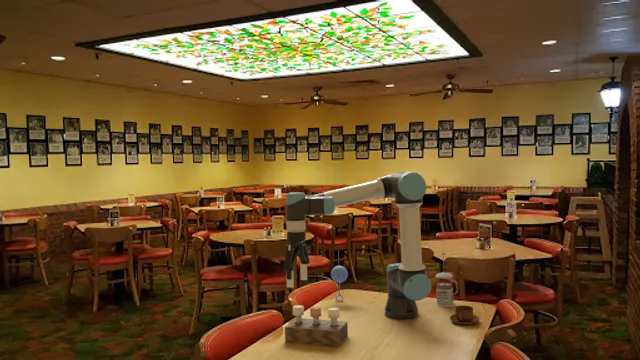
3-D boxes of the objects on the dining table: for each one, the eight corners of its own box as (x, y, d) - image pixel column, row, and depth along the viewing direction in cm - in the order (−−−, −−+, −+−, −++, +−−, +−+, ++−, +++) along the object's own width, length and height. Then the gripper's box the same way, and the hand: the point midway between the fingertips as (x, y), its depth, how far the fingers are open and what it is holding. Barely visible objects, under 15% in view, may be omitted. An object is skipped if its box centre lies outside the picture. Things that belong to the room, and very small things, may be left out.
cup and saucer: (481, 327, 201) (480, 312, 201) (450, 326, 203) (450, 311, 203) (477, 318, 213) (477, 304, 212) (449, 317, 215) (448, 303, 215)
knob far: (306, 322, 198) (305, 305, 198) (301, 326, 194) (301, 308, 193) (295, 322, 199) (295, 305, 199) (291, 325, 195) (290, 308, 195)
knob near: (341, 325, 192) (340, 307, 192) (337, 329, 188) (337, 311, 188) (330, 324, 194) (330, 307, 194) (327, 328, 190) (326, 310, 190)
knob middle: (323, 324, 195) (322, 306, 195) (319, 327, 191) (318, 309, 191) (313, 323, 197) (312, 306, 196) (309, 326, 192) (308, 309, 192)
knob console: (347, 336, 196) (347, 321, 196) (338, 347, 184) (337, 331, 184) (297, 332, 203) (296, 317, 203) (285, 342, 192) (284, 327, 192)
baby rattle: (349, 298, 252) (347, 263, 252) (348, 303, 243) (347, 267, 243) (332, 298, 253) (331, 264, 253) (331, 303, 244) (329, 267, 244)
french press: (440, 300, 242) (438, 250, 242) (462, 303, 235) (460, 251, 234) (430, 305, 235) (429, 253, 234) (453, 308, 227) (452, 255, 227)
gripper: (300, 227, 210) (301, 276, 210) (273, 234, 186) (275, 290, 187) (316, 227, 207) (317, 277, 207) (291, 235, 184) (292, 291, 184)
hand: (297, 283), depth 197 cm, fingers open, 13 cm apart
